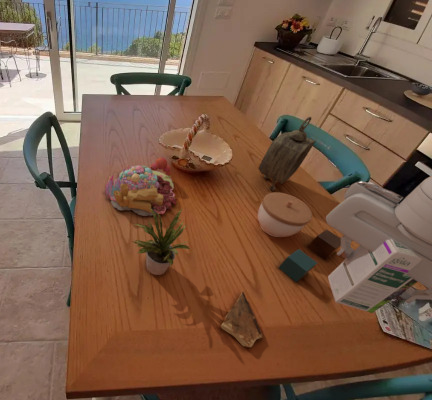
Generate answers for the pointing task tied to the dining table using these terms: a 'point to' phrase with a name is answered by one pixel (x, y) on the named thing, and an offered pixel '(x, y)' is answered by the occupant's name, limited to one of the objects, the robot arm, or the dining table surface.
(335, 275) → the syrup box
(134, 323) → the dining table surface
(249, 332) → the shard
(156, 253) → the house plant
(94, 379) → the dining table surface
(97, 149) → the dining table surface
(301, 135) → the old cowbell
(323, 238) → the block
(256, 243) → the dining table surface
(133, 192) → the candy landscape model
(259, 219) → the lidded bowl
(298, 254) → the block
